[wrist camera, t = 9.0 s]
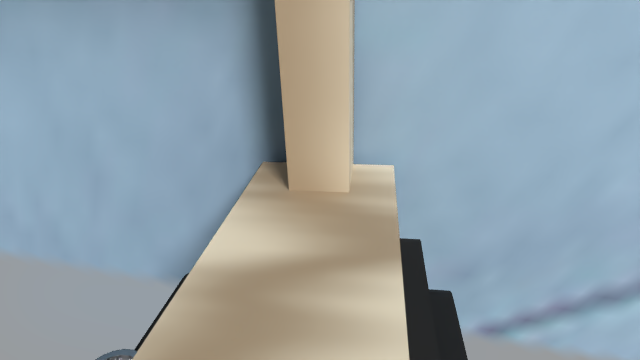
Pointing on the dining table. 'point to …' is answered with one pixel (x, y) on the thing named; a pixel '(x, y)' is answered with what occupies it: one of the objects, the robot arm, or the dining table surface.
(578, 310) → the dining table surface
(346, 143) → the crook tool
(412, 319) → the robot arm
